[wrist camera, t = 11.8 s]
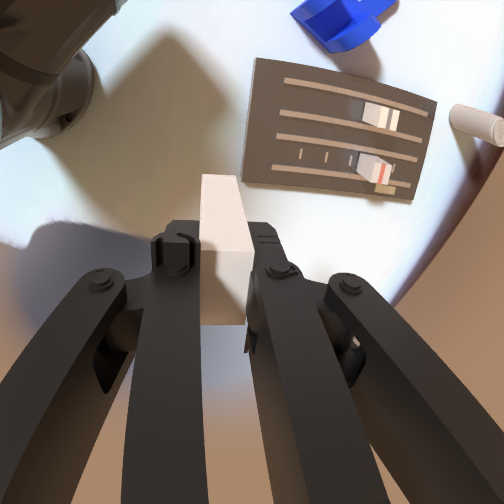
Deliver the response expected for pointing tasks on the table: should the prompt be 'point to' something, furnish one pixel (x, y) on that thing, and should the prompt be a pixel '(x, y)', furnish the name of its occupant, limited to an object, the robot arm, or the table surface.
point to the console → (330, 130)
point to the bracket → (341, 21)
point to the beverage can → (478, 124)
